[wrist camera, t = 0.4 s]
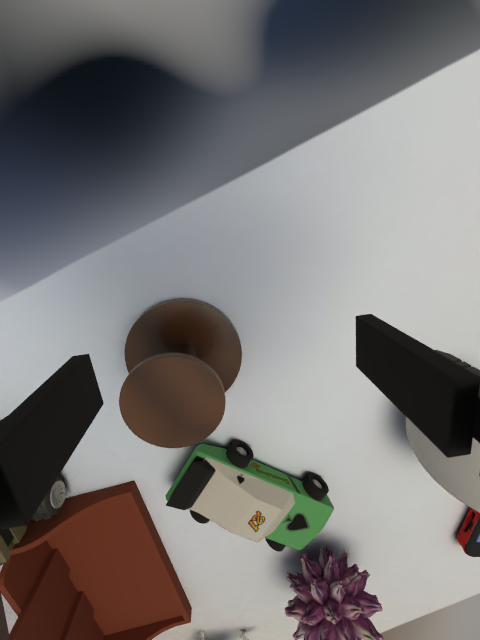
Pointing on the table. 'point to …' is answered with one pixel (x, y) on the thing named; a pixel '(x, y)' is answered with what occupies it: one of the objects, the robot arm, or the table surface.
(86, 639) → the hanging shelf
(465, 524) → the game console
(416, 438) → the decorative egg
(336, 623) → the flower
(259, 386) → the table surface
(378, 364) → the robot arm
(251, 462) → the toy car
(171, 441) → the pedestal
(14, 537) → the toy vehicle
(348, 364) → the table surface
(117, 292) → the table surface
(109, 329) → the table surface
